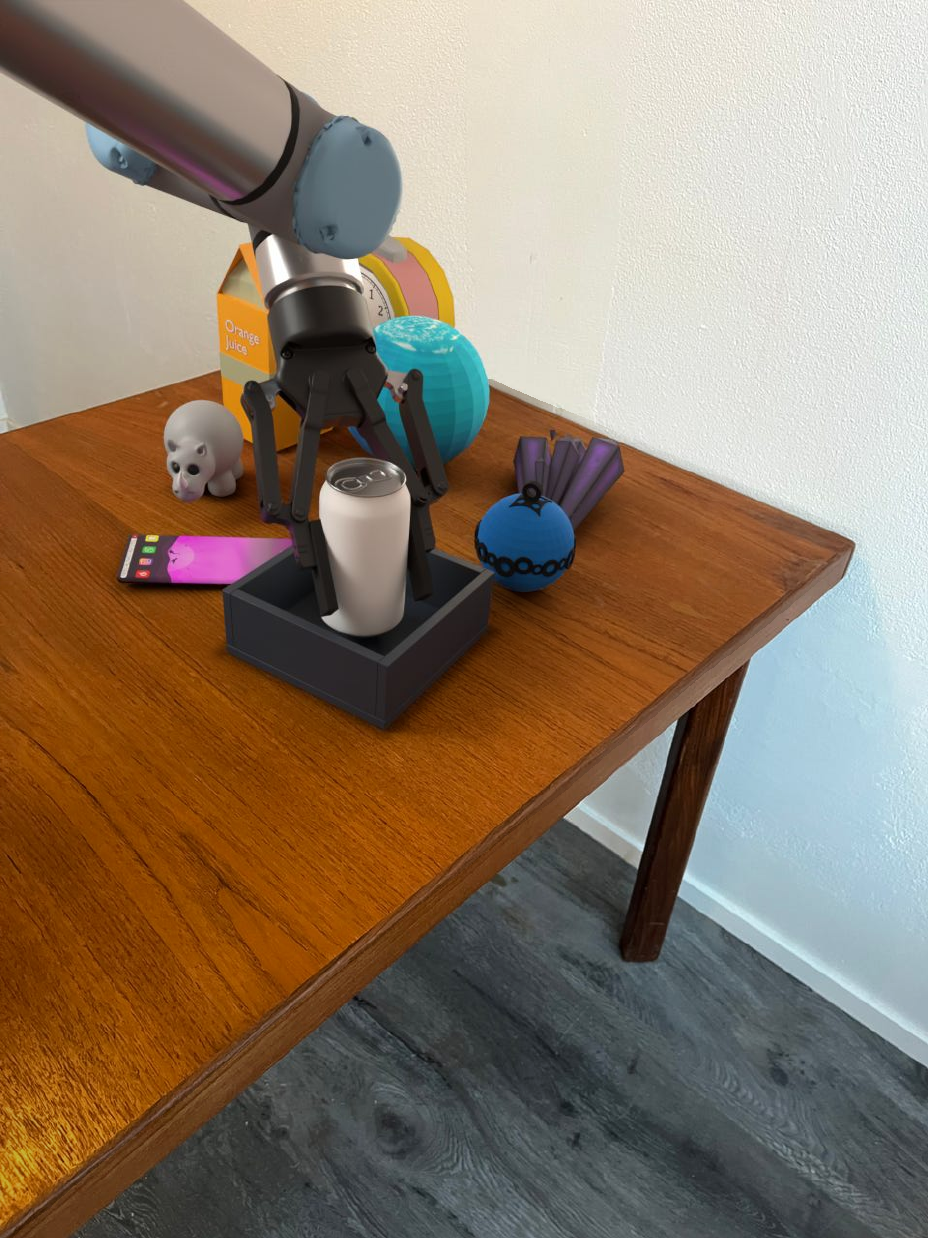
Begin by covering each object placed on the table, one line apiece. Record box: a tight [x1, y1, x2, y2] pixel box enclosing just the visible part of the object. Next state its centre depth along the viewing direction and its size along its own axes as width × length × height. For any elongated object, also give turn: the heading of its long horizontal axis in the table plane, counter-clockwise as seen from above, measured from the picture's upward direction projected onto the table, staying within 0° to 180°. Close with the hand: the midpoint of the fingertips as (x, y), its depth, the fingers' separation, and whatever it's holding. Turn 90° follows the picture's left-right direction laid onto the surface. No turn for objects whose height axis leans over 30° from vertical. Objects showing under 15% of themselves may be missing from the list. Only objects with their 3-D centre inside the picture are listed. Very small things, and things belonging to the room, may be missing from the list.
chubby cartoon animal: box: [163, 399, 245, 503], centre depth 90 cm, size 7×12×8 cm, turn 176°
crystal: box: [512, 429, 625, 532], centre depth 96 cm, size 7×12×20 cm
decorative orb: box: [347, 316, 490, 471], centre depth 97 cm, size 15×15×15 cm
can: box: [318, 457, 410, 638], centre depth 71 cm, size 6×6×12 cm
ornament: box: [473, 481, 578, 593], centre depth 82 cm, size 9×9×10 cm
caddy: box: [222, 545, 495, 731], centre depth 75 cm, size 15×15×6 cm
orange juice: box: [215, 241, 334, 452], centre depth 99 cm, size 8×9×20 cm
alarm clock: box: [358, 234, 456, 328], centre depth 109 cm, size 15×8×18 cm, turn 50°
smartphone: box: [116, 533, 292, 586], centre depth 83 cm, size 7×15×1 cm, turn 97°
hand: (377, 604), depth 70 cm, fingers closed on can, 6 cm apart
